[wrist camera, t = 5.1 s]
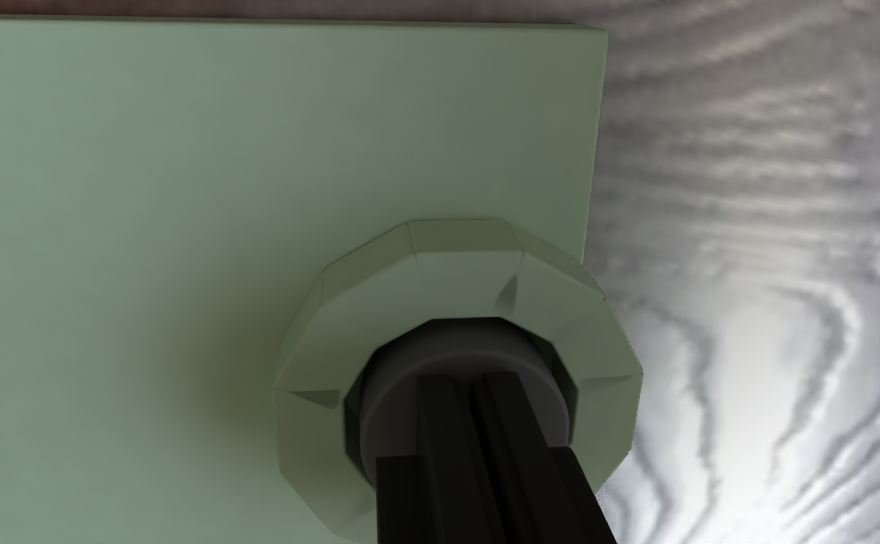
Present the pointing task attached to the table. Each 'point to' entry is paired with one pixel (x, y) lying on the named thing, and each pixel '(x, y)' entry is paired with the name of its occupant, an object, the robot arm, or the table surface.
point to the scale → (276, 258)
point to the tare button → (465, 359)
